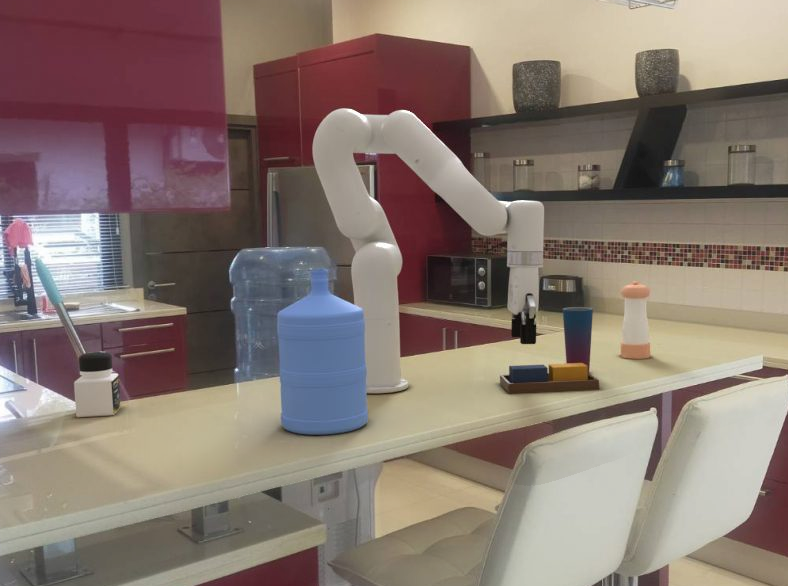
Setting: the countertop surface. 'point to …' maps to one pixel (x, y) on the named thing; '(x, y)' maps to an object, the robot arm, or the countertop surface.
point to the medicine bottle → (96, 386)
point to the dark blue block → (528, 373)
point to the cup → (578, 334)
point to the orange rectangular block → (568, 372)
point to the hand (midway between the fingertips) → (523, 340)
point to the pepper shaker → (635, 322)
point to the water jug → (322, 363)
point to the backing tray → (549, 385)
